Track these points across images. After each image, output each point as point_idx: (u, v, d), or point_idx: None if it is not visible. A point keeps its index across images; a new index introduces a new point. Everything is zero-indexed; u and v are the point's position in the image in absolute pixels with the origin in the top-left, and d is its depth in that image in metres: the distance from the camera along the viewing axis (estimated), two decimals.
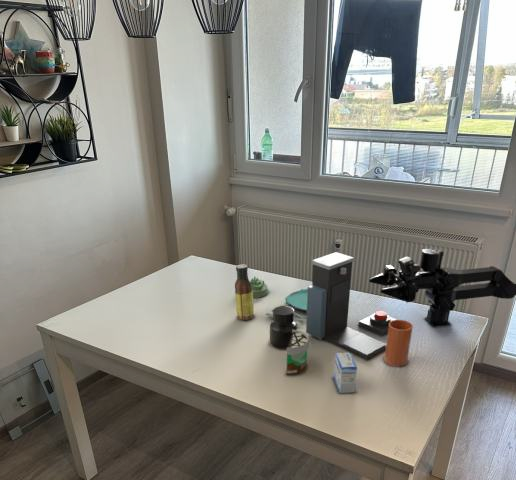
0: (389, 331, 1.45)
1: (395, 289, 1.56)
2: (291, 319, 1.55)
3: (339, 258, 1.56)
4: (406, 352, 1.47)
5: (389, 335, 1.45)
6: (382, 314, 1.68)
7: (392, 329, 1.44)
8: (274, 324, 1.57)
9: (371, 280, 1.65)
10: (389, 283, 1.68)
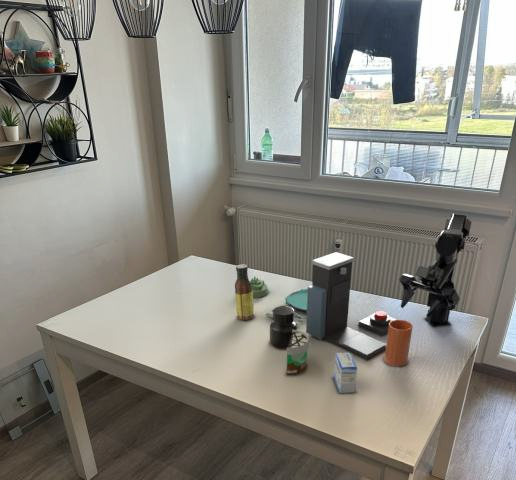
0: (389, 331, 1.45)
1: (437, 305, 1.45)
2: (291, 319, 1.55)
3: (339, 258, 1.56)
4: (406, 352, 1.47)
5: (389, 335, 1.45)
6: (382, 314, 1.68)
7: (392, 329, 1.44)
8: (274, 324, 1.57)
9: (403, 305, 1.52)
10: (414, 288, 1.56)
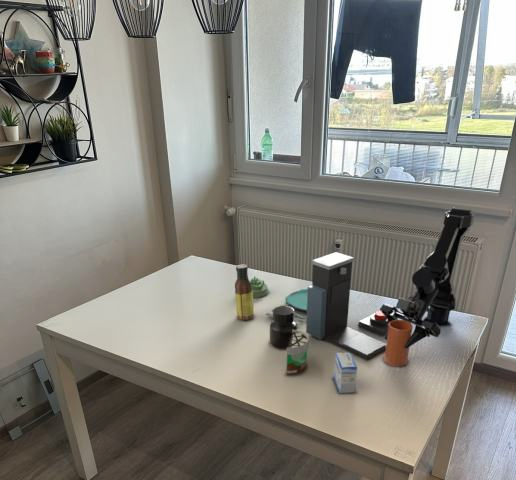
0: (389, 331, 1.45)
1: (416, 336, 1.44)
2: (291, 319, 1.55)
3: (339, 258, 1.56)
4: (406, 352, 1.47)
5: (389, 335, 1.45)
6: (382, 314, 1.68)
7: (392, 329, 1.44)
8: (274, 324, 1.57)
9: None
10: None
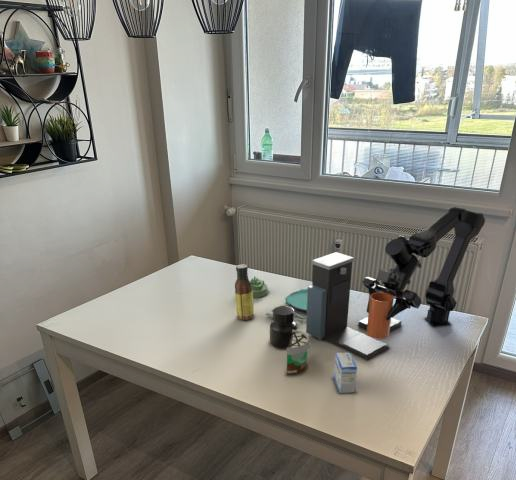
0: (370, 303, 1.46)
1: (397, 307, 1.45)
2: (291, 319, 1.55)
3: (339, 258, 1.56)
4: (387, 324, 1.48)
5: (370, 307, 1.47)
6: None
7: (373, 301, 1.45)
8: (274, 324, 1.57)
9: (368, 310, 1.51)
10: None
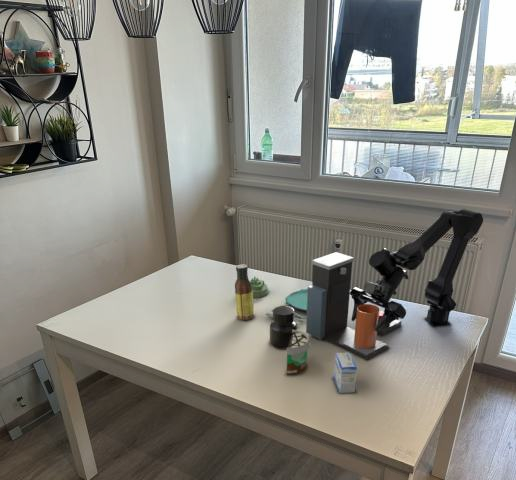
0: (357, 315, 1.52)
1: (385, 319, 1.49)
2: (291, 319, 1.55)
3: (339, 258, 1.56)
4: (374, 335, 1.53)
5: (357, 318, 1.52)
6: (382, 314, 1.68)
7: (360, 312, 1.50)
8: (274, 324, 1.57)
9: (353, 319, 1.56)
10: (364, 301, 1.60)
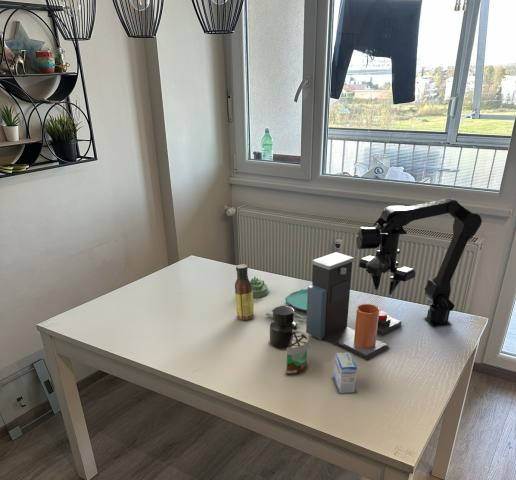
0: (357, 315, 1.52)
1: (394, 283, 1.60)
2: (291, 319, 1.55)
3: (339, 258, 1.56)
4: (374, 335, 1.53)
5: (357, 318, 1.52)
6: (382, 314, 1.68)
7: (360, 312, 1.50)
8: (274, 324, 1.57)
9: (377, 288, 1.66)
10: None
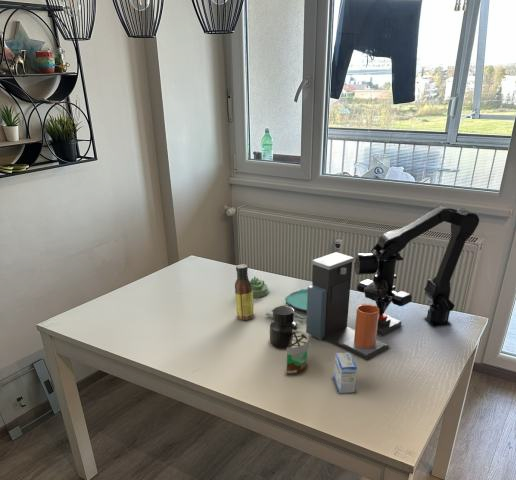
0: (357, 315, 1.52)
1: (384, 305, 1.66)
2: (291, 319, 1.55)
3: (339, 258, 1.56)
4: (374, 335, 1.53)
5: (357, 318, 1.52)
6: (382, 316, 1.68)
7: (360, 312, 1.50)
8: (274, 324, 1.57)
9: None
10: None
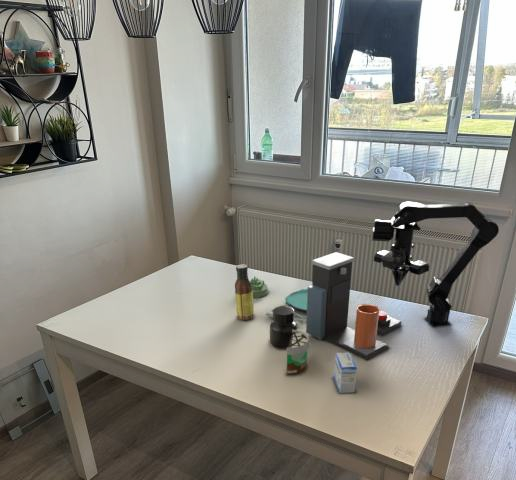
0: (357, 315, 1.52)
1: (401, 275, 1.66)
2: (291, 319, 1.55)
3: (339, 258, 1.56)
4: (374, 335, 1.53)
5: (357, 318, 1.52)
6: (382, 314, 1.68)
7: (360, 312, 1.50)
8: (274, 324, 1.57)
9: None
10: None
